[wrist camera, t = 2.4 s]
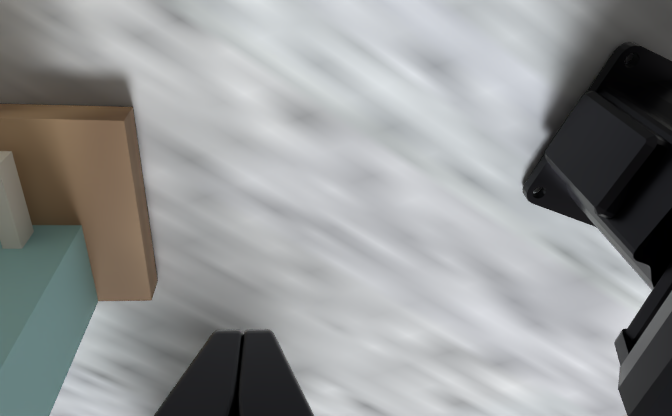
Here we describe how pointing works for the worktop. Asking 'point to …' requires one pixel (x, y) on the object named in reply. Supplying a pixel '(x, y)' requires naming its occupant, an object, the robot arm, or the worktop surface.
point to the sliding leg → (38, 301)
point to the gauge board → (87, 187)
